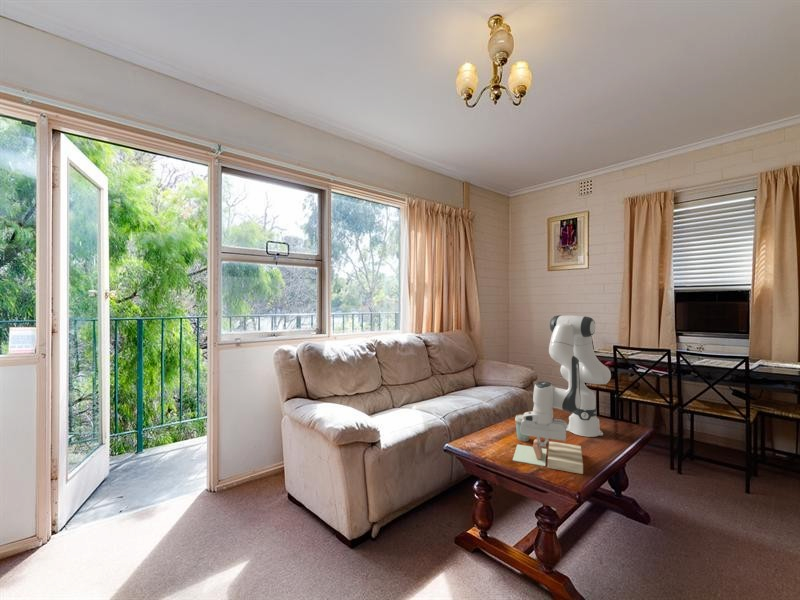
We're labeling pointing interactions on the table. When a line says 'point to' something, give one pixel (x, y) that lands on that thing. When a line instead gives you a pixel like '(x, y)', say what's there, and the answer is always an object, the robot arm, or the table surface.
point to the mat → (529, 455)
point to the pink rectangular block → (537, 449)
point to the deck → (565, 457)
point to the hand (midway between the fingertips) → (542, 446)
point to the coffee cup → (518, 425)
